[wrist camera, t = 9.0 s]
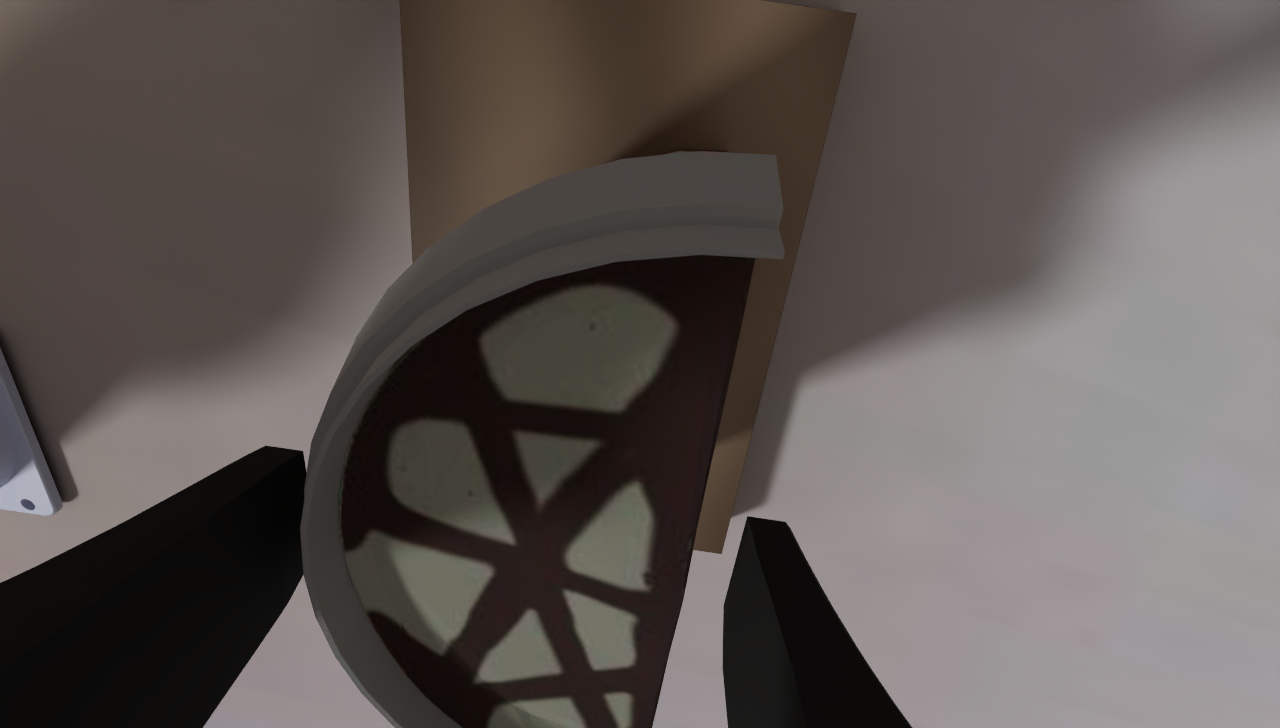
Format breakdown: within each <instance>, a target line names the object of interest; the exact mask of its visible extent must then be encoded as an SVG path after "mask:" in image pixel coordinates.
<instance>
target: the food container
mask: <svg viewBox="0 0 1280 728" xmlns="http://www.w3.org/2000/svg"><path fill="white" fill-rule="evenodd" d="M783 209H784V208H783V201H782V194H781V187H780V180H779V173H778V165H777V158H776V155H768V154H748V153H729V152H728V151H723V150H704V149H685V148H678V149H674V150H670V151H665V152H661V153H657V154H653V155H649V156H644V157H637V158H627V159H620V160H616V161H613V162H609V163H605V164H601V165H598V166H594V167H590V168H587V169H583V170H579V171H576V172H572V173H568V174H564V175H561V176H557V177H553V178H550V179H547V180H545V181H543V182H540V183H538V184H536V185H534V186H532V187H530V188H527V189H525V190H523V191H521V192H519V193H517V194H514V195H512V196H510V197H508V198H506V199H503V200H501V201H499V202H497V203H495V204H493V205H490V206H488V207H486V208H484V209H482V210H481V211H480V212H478V213H477V214H475V215H474V216H472V217H471V218H470V219H468V220H467V221H465V222H464V223H462V224H461V225H460V226H458V227H457V228H455V229H454V230H452V231H451V232H449V233H448V234H447V235H445V236H444V237H442V238H441V239H439V240H438V241H437V242H435V243H434V244H432V245H431V246H429V248H428V249H427V250H426V251H425V252H424V253H423V254H422V255H421V256H420V257H419V258H418V259H417V260H416V261H415V262H414V263H413V264H412V265H411V266H410V267H409V268H408V269H407V270H406V271H405V272H404V273H403V274H402V275H401V276H400V277H399V278H398V279H397V280H396V281H395V282H394V283H393V284H392V285H391V286H390V287H389V288H388V289H387V291H386V292H385V294H384V296H383V297H382V299H381V300H380V302H379V303H378V305H377V306H376V308H375V309H374V311H373V312H372V314H371V315H370V317H369V319H368V320H367V322H366V323H365V325H364V326H363V328H362V329H361V331H360V332H359V334H358V335H357V337H356V339H355V342H354V344H353V346H352V348H351V350H350V352H349V355H348V357H347V359H346V361H345V363H344V365H343V367H342V370H341V372H340V374H339V376H338V378H337V380H336V383H335V385H334V387H333V389H332V391H331V393H330V396H329V399H328V401H327V404H326V406H325V409H324V411H323V414H322V416H321V419H320V421H319V424H318V427H317V429H316V432H315V434H314V437H313V439H312V442H311V449H310V455H309V461H308V468H307V474H306V480H305V487H304V499H305V500H304V506H303V513H302V520H301V526H300V533H301V547H302V561H303V574H304V578H305V581H306V585H307V589H308V592H309V596H310V599H311V603H312V606H313V610H314V613H315V617H316V619H317V621H318V623H319V625H320V627H321V629H322V631H323V633H324V635H325V637H326V639H327V641H328V643H329V645H330V647H331V649H332V651H333V653H334V655H335V657H336V658H337V660H338V661H339V663H340V664H341V665H342V667H343V668H344V670H345V671H346V672H347V674H348V675H349V676H350V678H351V679H352V681H353V682H354V683H355V685H356V686H357V688H358V689H359V690H360V692H361V693H362V694H363V695H364V696H365V697H366V698H367V699H368V700H369V701H370V702H371V703H372V704H373V706H374V707H375V708H376V709H377V710H378V711H379V712H380V713H381V714H382V715H383V716H384V717H385V718H386V719H387V720H388V721H389V722H390V723H391V724H392V725H393V726H394V727H395V728H652V725H653V721H654V717H655V712H656V708H657V704H658V700H659V695H660V691H661V687H662V682H663V678H664V673H665V669H666V665H667V660H668V656H669V652H670V648H671V645H672V641H673V637H674V633H675V629H676V625H677V621H678V618H679V614H680V610H681V606H682V602H683V598H684V593H685V588H686V583H687V577H688V572H689V567H690V562H691V557H692V552H693V547H694V542H695V537H696V532H697V527H698V522H699V517H700V513H701V508H702V504H703V499H704V495H705V490H706V486H707V481H708V476H709V472H710V467H711V463H712V458H713V454H714V449H715V445H716V440H717V436H718V431H719V427H720V422H721V417H722V413H723V408H724V404H725V399H726V395H727V390H728V386H729V381H730V377H731V372H732V368H733V363H734V358H735V354H736V349H737V345H738V340H739V336H740V331H741V326H742V321H743V316H744V312H745V307H746V302H747V297H748V292H749V287H750V283H751V278H752V273H753V268H754V263H755V258H765V259H783V258H784V253H785V250H784V246H783V243H782V239H781V235H780V232H779V225H780V222H781V217H782V213H783Z"/></svg>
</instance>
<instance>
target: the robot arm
mask: <svg viewBox="0 0 1280 728" xmlns="http://www.w3.org/2000/svg"><path fill="white" fill-rule="evenodd" d="M305 480H306V467H305V461H304V455H303V451H298V450H292V449H285V448H278V447H271V446H264V447H262V448H260V449H258V450H256V451H254V452H252V453H250V454H248V455H246V456H244V457H242V458H240V459H239V460H237V461H235V462H233V463H231V464H229V465H227V466H226V467H224V468H222V469H220V470H218V471H217V472H215V473H213V474H211V475H209V476H207V477H206V478H204V479H202V480H200V481H198V482H197V483H195V484H193V485H191V486H189V487H188V488H186V489H184V490H182V491H180V492H178V493H177V494H175V495H173V496H171V497H169V498H167V499H166V500H164V501H162V502H160V503H158V504H156V505H155V506H153V507H151V508H149V509H147V510H145V511H144V512H142V513H140V514H138V515H136V516H134V517H133V518H131V519H129V520H127V521H125V522H123V523H121V524H119V525H117V526H116V527H114V528H112V529H110V530H108V531H106V532H104V533H102V534H100V535H98V536H96V537H94V538H92V539H90V540H88V541H86V542H84V543H82V544H80V545H78V546H76V547H74V548H72V549H70V550H68V551H66V552H64V553H62V554H60V555H58V556H56V557H54V558H52V559H50V560H48V561H46V562H44V563H42V564H40V565H38V566H36V567H34V568H32V569H30V570H27V571H25V572H23V573H21V574H19V575H17V576H15V577H13V578H10V579H8V580H6V581H4V582H2V583H0V728H203V726H204V725H205V723H206V722H207V721H208V719H209V718H210V716H211V715H212V713H213V712H214V710H215V709H216V708H217V706H218V705H219V703H220V702H221V700H222V699H223V697H224V696H225V695H226V693H227V692H228V690H229V689H230V687H231V686H232V684H233V683H234V681H235V680H236V679H237V677H238V676H239V674H240V673H241V671H242V670H243V668H244V667H245V666H246V664H247V663H248V661H249V660H250V658H251V657H252V655H253V654H254V653H255V651H256V650H257V648H258V647H259V645H260V644H261V642H262V641H263V639H264V638H265V636H266V635H267V634H268V632H269V631H270V629H271V628H272V626H273V625H274V623H275V622H276V620H277V619H278V617H279V616H280V614H281V613H282V611H283V610H284V608H285V607H286V605H287V604H288V602H289V600H290V598H291V596H292V595H293V593H294V591H295V589H296V587H297V585H298V583H299V582H300V580H301V578H302V576H303V561H302V547H301V533H300V526H301V520H302V513H303V506H304V500H305V499H304V487H305ZM62 506H63V505H62V500H61V498H60V495H59V493H58V490H57V488H56V485H55V483H54V480H53V478H52V475H51V473H50V470H49V468H48V465H47V463H46V460H45V458H44V455H43V453H42V450H41V448H40V445H39V443H38V440H37V438H36V435H35V433H34V430H33V428H32V425H31V423H30V420H29V418H28V415H27V413H26V410H25V408H24V405H23V403H22V400H21V398H20V395H19V393H18V390H17V388H16V385H15V383H14V380H13V378H12V375H11V373H10V370H9V368H8V365H7V363H6V360H5V358H4V355H3V353H2V350H1V348H0V509H3V510H10V511H17V512H24V513H30V514H37V515H44V516H52V515H54V514H55V513H56V512H58V511H59V510H60V509H61V508H62ZM723 675H724V686H725V697H726V708H727V719H728V728H912V727H911V725H910V724H909V723H908V721H907V720H906V719H905V717H904V716H903V714H902V713H901V712H900V710H899V709H898V707H897V706H896V705H895V703H894V702H893V700H892V699H891V697H890V696H889V694H888V693H887V692H886V690H885V689H884V687H883V686H882V684H881V683H880V681H879V680H878V678H877V677H876V675H875V674H874V672H873V671H872V669H871V668H870V666H869V665H868V663H867V662H866V660H865V659H864V657H863V656H862V654H861V652H860V651H859V649H858V648H857V646H856V645H855V643H854V641H853V640H852V638H851V636H850V635H849V633H848V631H847V630H846V628H845V627H844V625H843V623H842V622H841V620H840V618H839V617H838V615H837V613H836V612H835V610H834V608H833V607H832V605H831V603H830V601H829V600H828V598H827V596H826V595H825V593H824V591H823V589H822V587H821V586H820V584H819V582H818V580H817V578H816V577H815V575H814V573H813V571H812V569H811V567H810V566H809V564H808V562H807V560H806V558H805V556H804V554H803V552H802V550H801V548H800V546H799V545H798V543H797V541H796V539H795V537H794V535H793V533H792V531H791V529H790V527H789V526H788V525H787V523H786V522H782V521H775V520H768V519H762V518H755V517H748V516H747V520H746V524H745V528H744V531H743V535H742V539H741V543H740V546H739V550H738V554H737V558H736V561H735V565H734V569H733V573H732V576H731V580H730V584H729V588H728V591H727V595H726V599H725V603H724V622H723Z"/></svg>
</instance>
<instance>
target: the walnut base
mask: <svg viewBox="0 0 1280 728" xmlns="http://www.w3.org/2000/svg"><path fill="white" fill-rule="evenodd" d="M400 16H401V36H402V57H403V77H404V97H405V117H406V138H407V158H408V178H409V198H410V218H411V239H412V259H413V263H414V262H415V261H416V260H417V259H418V258H419V257H420V256H421V255H422V254H423V253H424V252H425V251H426V250H427V249H428V248H429V246H431V245H432V244H434V243H435V242H437V241H438V240H439V239H441V238H442V237H444V236H445V235H447V234H448V233H449V232H451V231H452V230H454V229H455V228H457V227H458V226H460V225H461V224H462V223H464V222H465V221H467V220H468V219H470V218H471V217H472V216H474V215H475V214H477V213H478V212H480V211H481V210H482V209H484V208H486V207H488V206H490V205H493V204H495V203H497V202H499V201H501V200H503V199H506V198H508V197H510V196H512V195H514V194H517V193H519V192H521V191H523V190H525V189H527V188H530V187H532V186H534V185H536V184H538V183H540V182H543V181H545V180H547V179H550V178H553V177H557V176H561V175H564V174H568V173H572V172H576V171H579V170H583V169H587V168H590V167H594V166H598V165H601V164H605V163H609V162H613V161H616V160H620V159H627V158H637V157H644V156H649V155H653V154H657V153H661V152H665V151H670V150H674V149H678V148H685V149H704V150H723V151H728V152H729V153H748V154H768V155H776V158H777V165H778V173H779V180H780V187H781V194H782V201H783V208H784V209H783V213H782V217H781V222H780V225H779V232H780V235H781V239H782V243H783V246H784V250H785V253H784V258H783V259H765V258H755V263H754V268H753V273H752V278H751V283H750V287H749V292H748V297H747V302H746V307H745V312H744V316H743V321H742V326H741V331H740V336H739V340H738V345H737V349H736V354H735V358H734V363H733V368H732V372H731V377H730V381H729V386H728V390H727V395H726V399H725V404H724V408H723V413H722V417H721V422H720V427H719V431H718V436H717V440H716V445H715V449H714V454H713V458H712V463H711V467H710V472H709V476H708V481H707V486H706V490H705V495H704V499H703V504H702V508H701V513H700V517H699V522H698V527H697V532H696V537H695V542H694V547H693V550H698V551H705V552H712V553H719V554H722V550H723V546H724V542H725V538H726V534H727V530H728V526H729V522H730V518H731V514H732V510H733V506H734V502H735V498H736V494H737V490H738V486H739V482H740V478H741V474H742V470H743V466H744V462H745V458H746V454H747V450H748V446H749V442H750V438H751V434H752V430H753V426H754V422H755V418H756V414H757V410H758V406H759V402H760V398H761V394H762V390H763V386H764V382H765V378H766V374H767V370H768V366H769V362H770V358H771V354H772V350H773V346H774V342H775V338H776V334H777V330H778V326H779V322H780V318H781V314H782V310H783V306H784V302H785V298H786V294H787V290H788V286H789V282H790V278H791V274H792V270H793V266H794V262H795V258H796V254H797V250H798V246H799V242H800V238H801V234H802V230H803V226H804V222H805V218H806V214H807V210H808V206H809V202H810V198H811V194H812V190H813V186H814V182H815V178H816V174H817V170H818V166H819V162H820V158H821V154H822V150H823V146H824V142H825V138H826V134H827V130H828V126H829V122H830V118H831V114H832V110H833V106H834V102H835V98H836V94H837V90H838V86H839V82H840V78H841V74H842V70H843V66H844V62H845V58H846V54H847V50H848V46H849V42H850V38H851V34H852V30H853V26H854V22H855V18H856V13H849V12H841V11H834V10H827V9H820V8H813V7H806V6H799V5H791V4H784V3H777V2H770V1H763V0H400Z"/></svg>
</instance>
